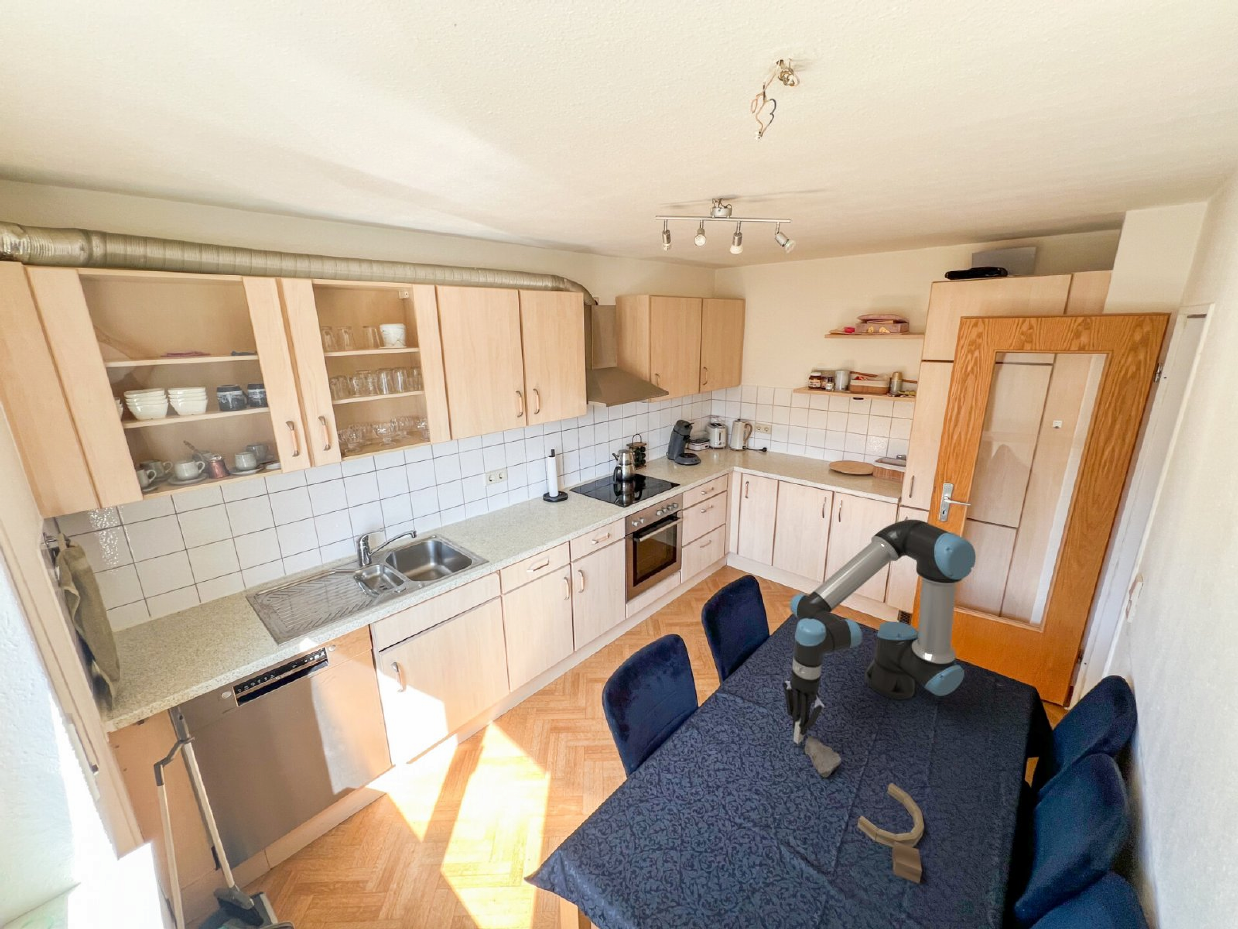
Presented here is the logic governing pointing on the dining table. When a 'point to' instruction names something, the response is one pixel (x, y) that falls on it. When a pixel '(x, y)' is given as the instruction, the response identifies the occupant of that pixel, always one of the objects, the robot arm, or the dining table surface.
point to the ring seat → (888, 837)
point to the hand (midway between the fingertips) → (798, 740)
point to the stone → (821, 756)
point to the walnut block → (906, 862)
